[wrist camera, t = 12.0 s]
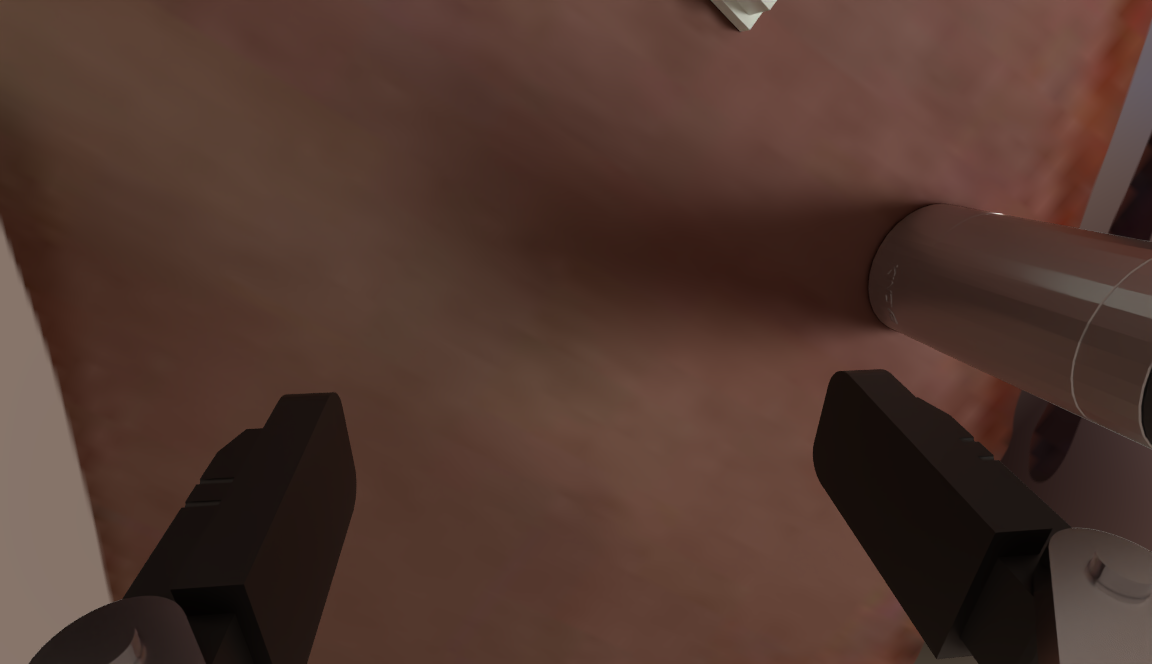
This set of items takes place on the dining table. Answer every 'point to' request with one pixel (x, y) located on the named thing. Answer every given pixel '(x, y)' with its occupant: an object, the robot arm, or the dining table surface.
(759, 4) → the stand
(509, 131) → the dining table surface
